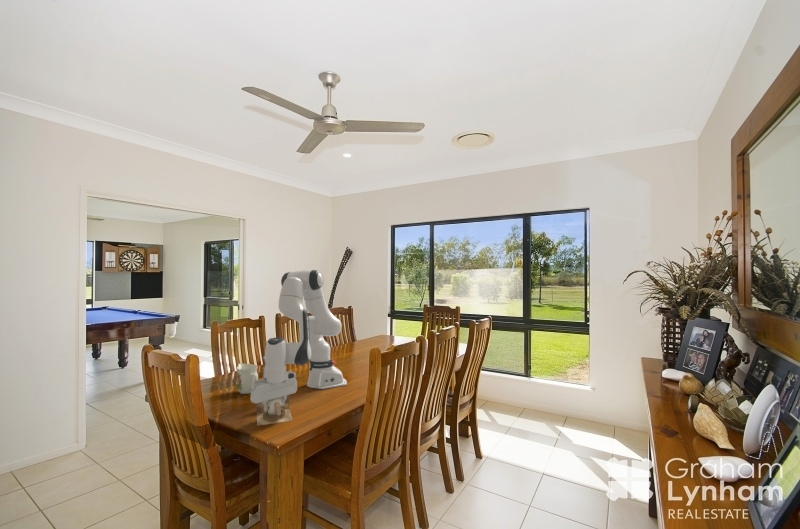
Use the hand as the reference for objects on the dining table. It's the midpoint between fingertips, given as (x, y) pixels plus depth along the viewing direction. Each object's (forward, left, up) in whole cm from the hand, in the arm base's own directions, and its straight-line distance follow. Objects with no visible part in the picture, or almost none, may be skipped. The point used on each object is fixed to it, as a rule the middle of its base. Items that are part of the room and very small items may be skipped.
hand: (274, 408), depth 154 cm
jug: (-1, +2, -4) cm, 4 cm away
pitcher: (+11, -42, -5) cm, 44 cm away
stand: (0, 0, -5) cm, 5 cm away
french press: (-1, -59, -5) cm, 59 cm away
